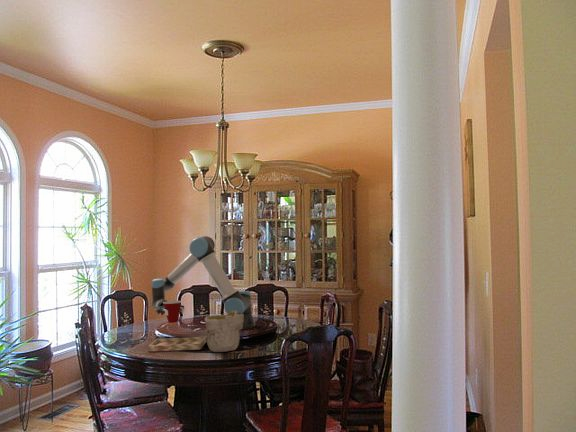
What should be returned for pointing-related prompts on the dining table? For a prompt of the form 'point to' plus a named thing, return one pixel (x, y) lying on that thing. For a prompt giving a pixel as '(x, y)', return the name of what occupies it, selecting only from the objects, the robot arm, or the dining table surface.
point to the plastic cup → (172, 310)
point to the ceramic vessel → (224, 331)
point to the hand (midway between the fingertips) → (175, 311)
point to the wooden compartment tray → (177, 344)
